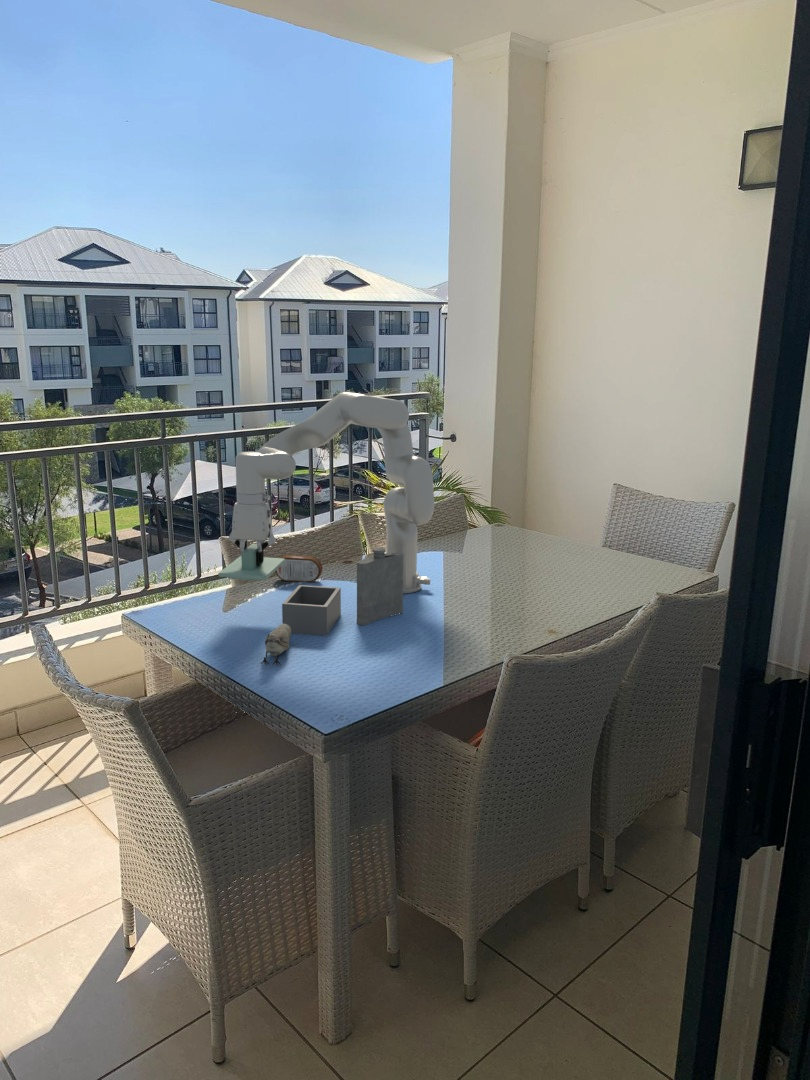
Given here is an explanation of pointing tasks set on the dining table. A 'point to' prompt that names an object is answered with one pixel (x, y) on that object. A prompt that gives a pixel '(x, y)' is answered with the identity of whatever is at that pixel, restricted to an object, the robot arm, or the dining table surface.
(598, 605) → the dining table surface
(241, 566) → the lid
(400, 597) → the hip flask
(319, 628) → the tub
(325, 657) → the dining table surface
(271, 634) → the decorative bird
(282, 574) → the tin
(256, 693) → the dining table surface
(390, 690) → the dining table surface
